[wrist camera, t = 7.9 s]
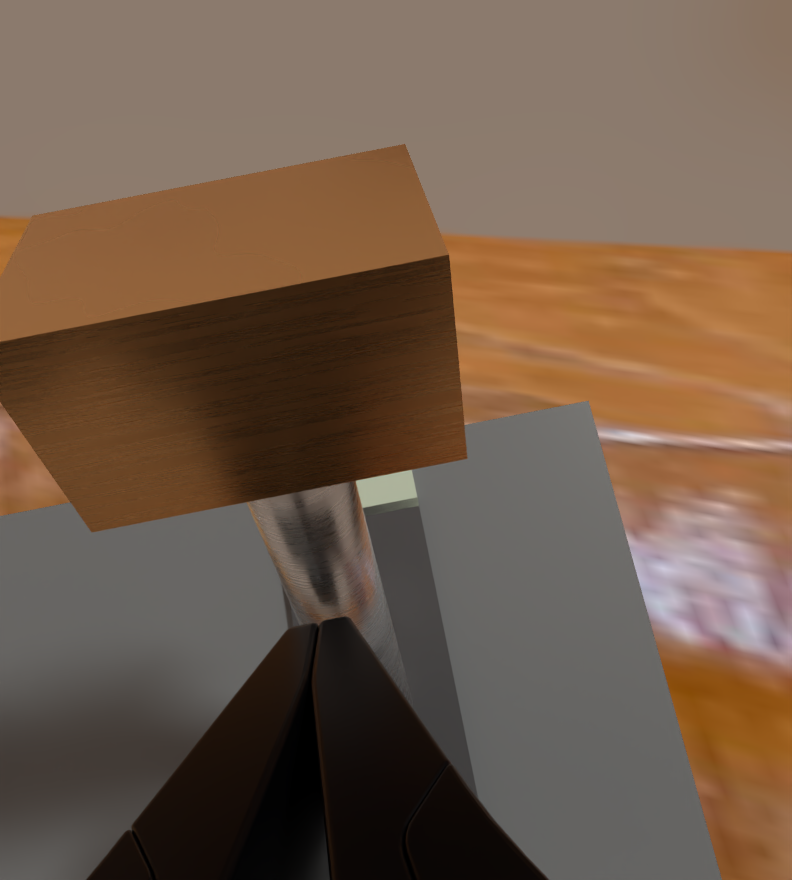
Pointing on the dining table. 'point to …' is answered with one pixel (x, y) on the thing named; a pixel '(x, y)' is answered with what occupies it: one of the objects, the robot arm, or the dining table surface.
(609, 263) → the dining table surface
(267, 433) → the lever
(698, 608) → the dining table surface
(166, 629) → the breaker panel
